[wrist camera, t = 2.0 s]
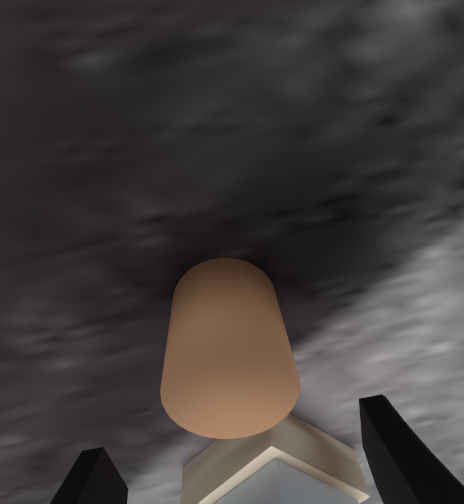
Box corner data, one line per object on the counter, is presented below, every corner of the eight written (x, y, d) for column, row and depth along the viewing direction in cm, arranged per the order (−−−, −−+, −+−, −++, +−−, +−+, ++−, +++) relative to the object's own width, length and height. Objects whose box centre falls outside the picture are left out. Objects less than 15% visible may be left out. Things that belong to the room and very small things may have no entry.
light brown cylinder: (152, 310, 17) (132, 404, 12) (216, 237, 15) (220, 314, 11) (231, 356, 18) (238, 455, 14) (296, 294, 17) (328, 383, 12)
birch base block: (183, 461, 22) (180, 517, 20) (263, 393, 20) (271, 445, 17) (271, 500, 25) (278, 554, 22) (351, 443, 22) (370, 496, 20)
